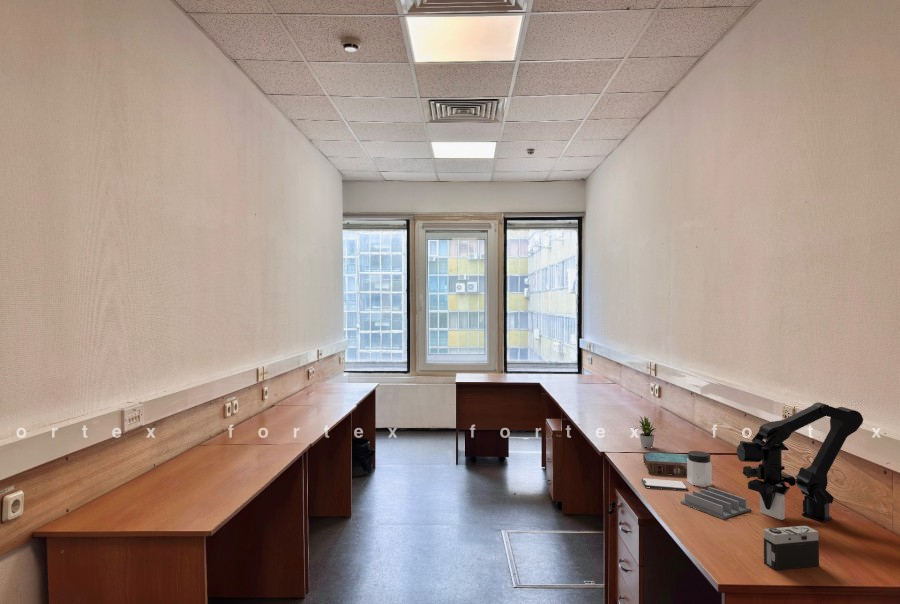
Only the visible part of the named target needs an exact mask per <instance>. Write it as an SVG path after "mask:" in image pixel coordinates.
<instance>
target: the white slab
mask: <svg viewBox="0 0 900 604" xmlns="http://www.w3.org/2000/svg"><path fill="white" fill-rule="evenodd" d="M785 501H786V500H785V496H784V495H783V494H780V493H776V494H775V497H774V500H773V503H772V506H771V508H770V510H768V509H766V507H765V505H764V502H763V499H762V497H761V494H760V493H759V513H760V514H763V515H765V516H769V517H772V518H775V519H778V520H781V521H782V520H785V515H786V514H785Z"/></svg>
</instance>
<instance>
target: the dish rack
mask: <svg viewBox="0 0 900 604" xmlns="http://www.w3.org/2000/svg"><path fill="white" fill-rule="evenodd" d="M699 490H700V491H699V492H698V491H696V490H692V494H691V493H687V492H685V493H684V500H680V504H681V503H683V504H682V505H684V504H686V505H688V506H687V507H689V506H691V507H690V508H692V507H694V508H696V509H695V510H697V509H699V510H701V511H700V512H702V511H703V512H702V513H705V512H706V513H705V514H707V513H709V514H708V515H710V514H711V515H710V516H712V515H714V516H713V517H715V516H716V517H715V518H718V517H719V518H718V519H720V518H721V520H726V519H729V518H731V517H734V516H735V517H736V516H738V515H741V514H744V513H747V512H750V511H752V508H751V507H749V506H747V498H746V497H745V498H744V497H741V496H739V495H735V494H732V493H729V492H726V491H723V490H721V489H718V488H714V487H711V486H707V489H704V488H700V489H699ZM686 505H685V506H686ZM694 508H693V509H694ZM699 510H698V511H699Z"/></svg>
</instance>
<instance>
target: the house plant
mask: <svg viewBox="0 0 900 604" xmlns="http://www.w3.org/2000/svg"><path fill="white" fill-rule="evenodd" d="M639 417H640V420H641V421H640V420H639V419H637V418H634V417H631V418H634V420H636V421H638V423H639V424H640V425H639V427H637V426H635V425H634V427H635V428H634V430H637V429H638V430H642V431H641V432H642V433H639V438H640V439H639V440H640V445H641V447H642V446H643V447H647V448H646V449H652V448H651V447H654V440H655V434H653V433H654V432H657V431H658V432H659V430H657V428H656V427H655V425H654V424H657V422H658V421H656V420H654V421H653V422H652V424H651V421H649V416H648V417H646V415H644V417H642V416H641V415H639ZM643 418H644V419H643ZM643 447H642V448H643Z"/></svg>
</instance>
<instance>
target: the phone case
mask: <svg viewBox="0 0 900 604" xmlns="http://www.w3.org/2000/svg"><path fill="white" fill-rule="evenodd" d="M642 482H643V483H642ZM641 483H642V485H643V484H644V485H643V487H644V486H645V487H650V488H662V489H661V490H663V489H676V490H675V491H678V490H688V491H689V488H688V487H687V485H686V484H685V482H683V481H681V480H670V479H669V480H668V479H656V478H647V477H646V478H645V477H643V478H641ZM645 487H644V488H645Z"/></svg>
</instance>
